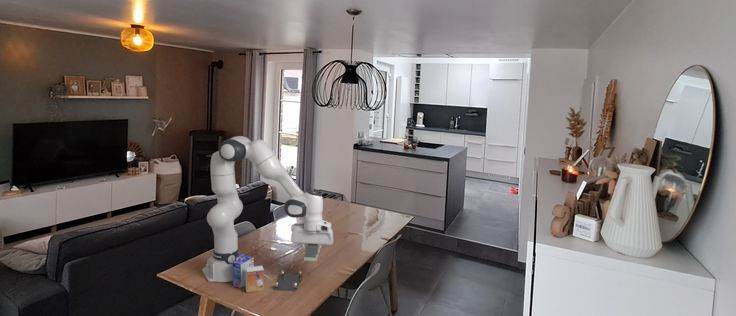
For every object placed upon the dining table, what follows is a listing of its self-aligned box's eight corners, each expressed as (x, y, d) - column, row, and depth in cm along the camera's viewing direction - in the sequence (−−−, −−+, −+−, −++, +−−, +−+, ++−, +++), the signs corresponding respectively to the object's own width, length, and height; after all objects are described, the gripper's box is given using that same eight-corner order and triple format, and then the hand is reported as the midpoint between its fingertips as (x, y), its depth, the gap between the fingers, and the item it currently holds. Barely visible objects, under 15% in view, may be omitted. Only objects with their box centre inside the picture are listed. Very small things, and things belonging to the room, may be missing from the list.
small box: (246, 293, 194) (246, 271, 192) (245, 287, 199) (245, 267, 197) (264, 290, 197) (264, 269, 195) (262, 285, 202) (262, 265, 200)
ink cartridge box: (245, 277, 209) (245, 250, 206) (254, 280, 207) (254, 252, 204) (232, 286, 200) (231, 257, 197) (241, 288, 198) (241, 259, 195)
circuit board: (303, 260, 197) (304, 248, 196) (307, 252, 207) (307, 241, 206) (316, 261, 197) (316, 249, 196) (319, 253, 207) (319, 241, 206)
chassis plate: (274, 289, 198) (274, 283, 197) (281, 276, 212) (281, 269, 212) (296, 291, 198) (296, 284, 197) (302, 277, 212) (302, 270, 212)
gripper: (290, 225, 196) (289, 252, 199) (333, 227, 196) (331, 255, 199) (292, 221, 203) (291, 247, 205) (334, 223, 202) (333, 250, 205)
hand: (311, 251), depth 202 cm, fingers closed on circuit board, 4 cm apart
